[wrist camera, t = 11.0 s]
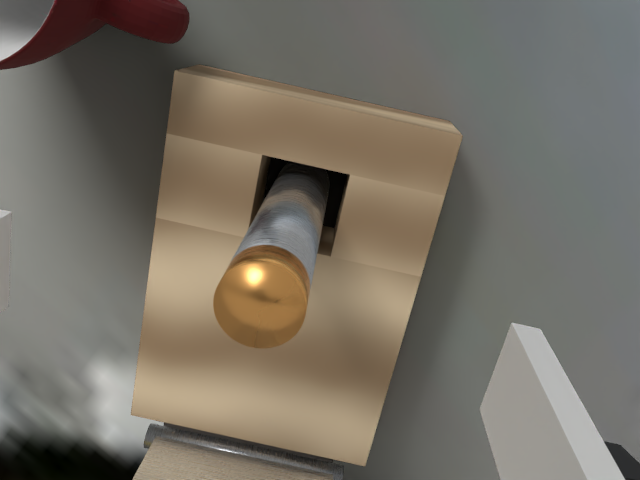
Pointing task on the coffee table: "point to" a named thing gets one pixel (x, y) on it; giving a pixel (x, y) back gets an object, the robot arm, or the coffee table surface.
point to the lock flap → (223, 460)
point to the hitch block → (329, 273)
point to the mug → (81, 24)
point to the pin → (275, 262)
